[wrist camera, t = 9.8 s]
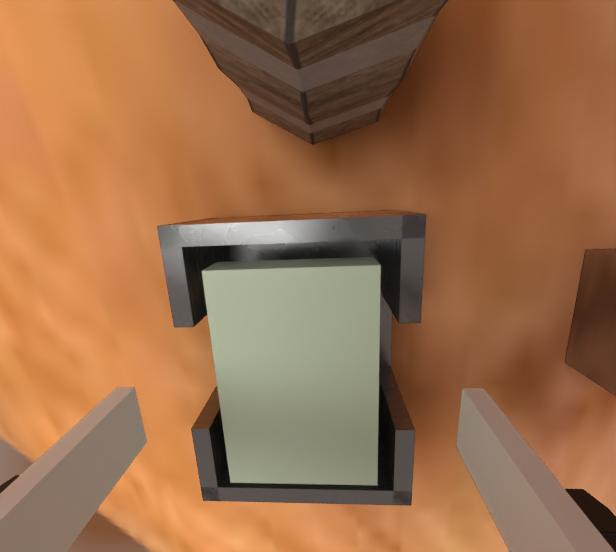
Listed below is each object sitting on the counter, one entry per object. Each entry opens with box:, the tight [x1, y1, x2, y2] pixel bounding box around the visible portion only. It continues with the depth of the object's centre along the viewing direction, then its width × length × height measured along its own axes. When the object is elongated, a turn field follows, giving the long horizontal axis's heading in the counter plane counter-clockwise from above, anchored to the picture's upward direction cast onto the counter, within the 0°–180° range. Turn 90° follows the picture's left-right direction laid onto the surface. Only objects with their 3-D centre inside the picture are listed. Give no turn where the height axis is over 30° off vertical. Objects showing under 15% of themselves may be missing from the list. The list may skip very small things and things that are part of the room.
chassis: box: [157, 210, 426, 505], centre depth 18 cm, size 16×12×6 cm
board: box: [202, 257, 381, 485], centre depth 15 cm, size 12×8×2 cm, turn 3°
